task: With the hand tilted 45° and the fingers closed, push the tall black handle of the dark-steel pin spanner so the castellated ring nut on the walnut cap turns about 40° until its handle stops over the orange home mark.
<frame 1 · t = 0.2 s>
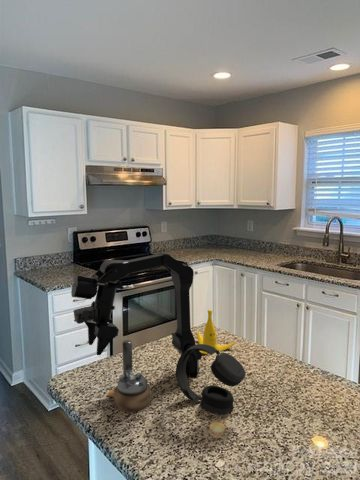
hand: (94, 349, 114), 15 cm above the counter, tool pointing down, fingers open, 9 cm apart
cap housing: (132, 401, 112), on the counter
banana peel: (207, 347, 155), on the counter
ring nut: (130, 371, 114), point 8 cm above the counter, hinge at 0.0°
headphones: (210, 405, 110), on the counter
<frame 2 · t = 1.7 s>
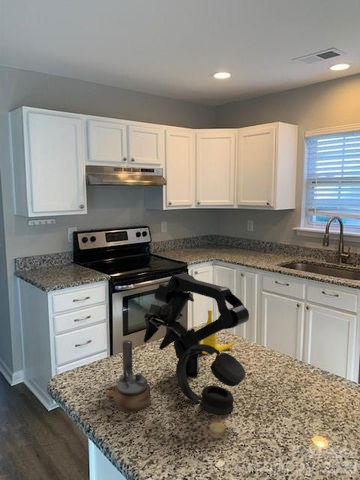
hand: (152, 345, 124), 12 cm above the counter, tool tilted 45°, fingers open, 9 cm apart
nothing on the counter moved.
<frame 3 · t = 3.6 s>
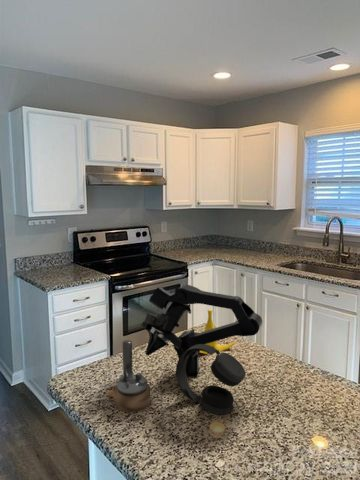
hand: (146, 354, 124), 9 cm above the counter, tool tilted 45°, fingers closed
nothing on the counter moved.
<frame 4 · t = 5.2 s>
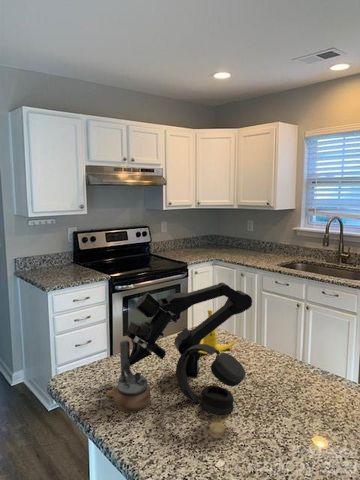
hand: (129, 364, 120), 8 cm above the counter, tool tilted 45°, fingers closed, pressing on ring nut
ring nut: (129, 371, 114), point 8 cm above the counter, hinge at 5.6°, touching gripper
everything else where it was.
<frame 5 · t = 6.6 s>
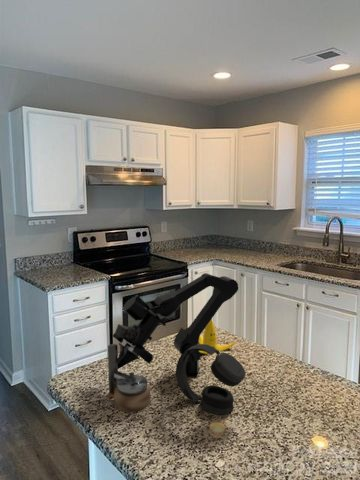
hand: (115, 368, 118), 8 cm above the counter, tool tilted 45°, fingers closed, pressing on ring nut
ring nut: (126, 373, 113), point 8 cm above the counter, hinge at 37.9°, touching gripper
everything else where it was.
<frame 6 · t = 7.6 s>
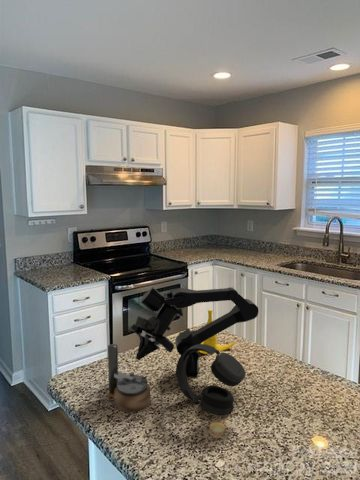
hand: (137, 359, 121), 9 cm above the counter, tool tilted 45°, fingers closed
ring nut: (126, 373, 113), point 8 cm above the counter, hinge at 37.9°
everything else where it was.
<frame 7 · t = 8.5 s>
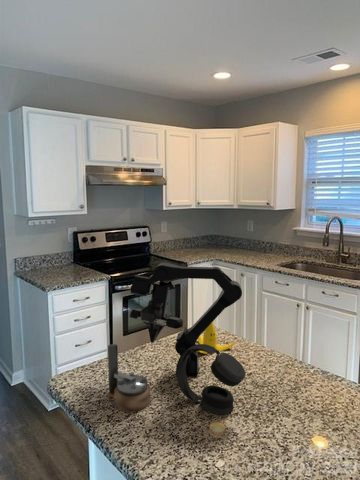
hand: (152, 342, 128), 12 cm above the counter, tool pointing down, fingers closed
nothing on the counter moved.
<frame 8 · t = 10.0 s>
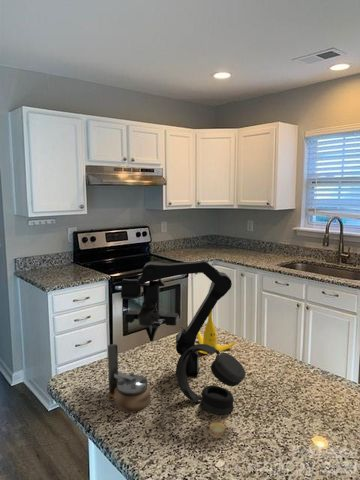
hand: (151, 341, 129), 12 cm above the counter, tool pointing down, fingers closed
nothing on the counter moved.
at the end: ring nut at +38° (first picture: +0°) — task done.
